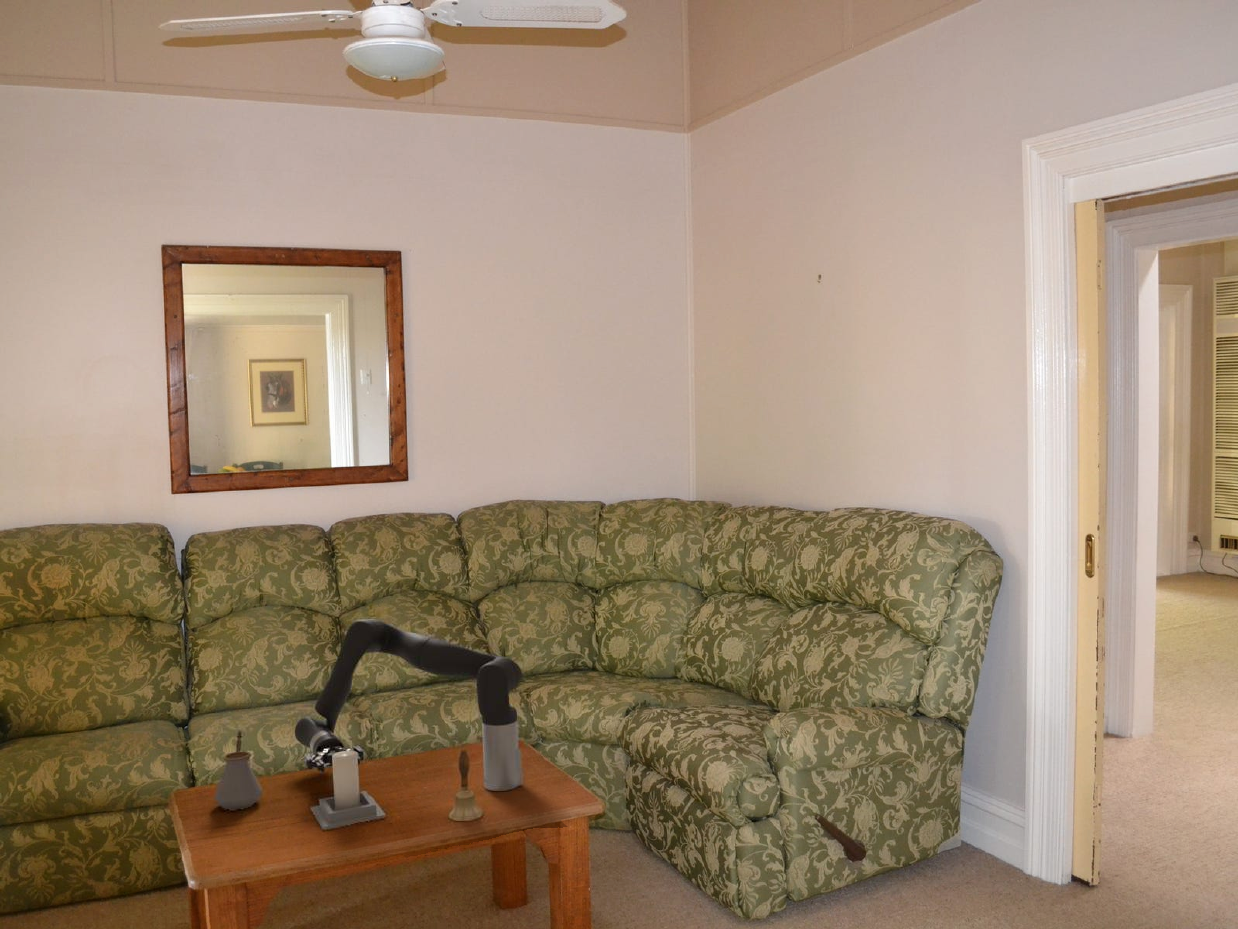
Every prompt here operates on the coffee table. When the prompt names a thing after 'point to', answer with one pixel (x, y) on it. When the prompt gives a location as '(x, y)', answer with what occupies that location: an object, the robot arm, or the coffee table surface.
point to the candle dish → (346, 812)
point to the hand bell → (465, 795)
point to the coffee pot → (237, 781)
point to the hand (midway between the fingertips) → (340, 765)
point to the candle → (345, 780)
